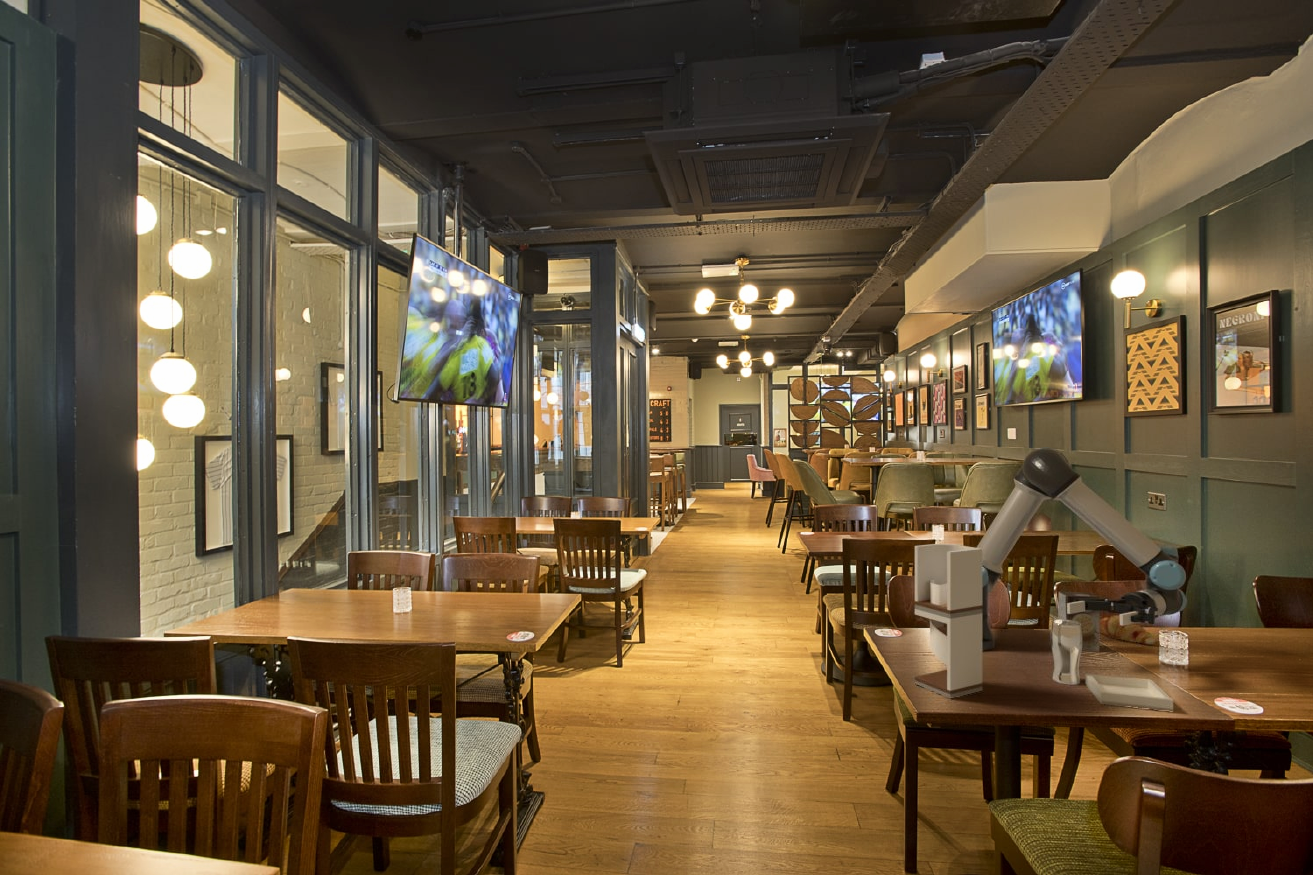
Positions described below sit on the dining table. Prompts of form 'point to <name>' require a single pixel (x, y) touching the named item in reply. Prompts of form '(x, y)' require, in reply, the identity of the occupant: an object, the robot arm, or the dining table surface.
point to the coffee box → (1082, 619)
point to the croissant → (1125, 631)
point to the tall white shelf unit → (951, 615)
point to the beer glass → (1066, 650)
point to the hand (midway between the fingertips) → (1093, 614)
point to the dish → (1128, 692)
